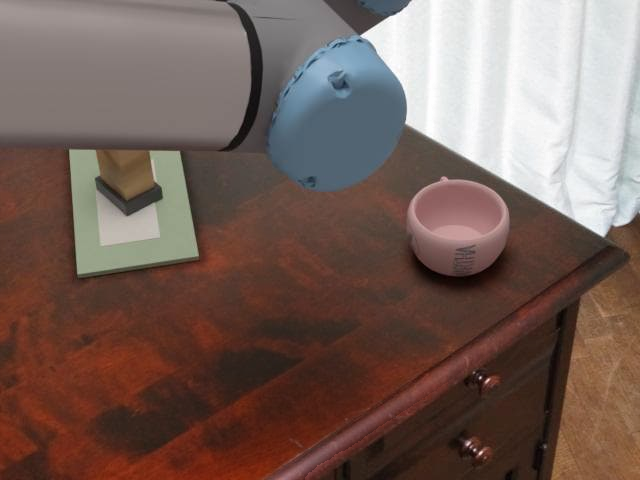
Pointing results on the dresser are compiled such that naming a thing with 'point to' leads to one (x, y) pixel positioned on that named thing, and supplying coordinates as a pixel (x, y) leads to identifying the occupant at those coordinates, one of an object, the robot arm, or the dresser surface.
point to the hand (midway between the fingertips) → (187, 102)
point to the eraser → (127, 179)
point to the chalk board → (130, 220)
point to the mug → (457, 226)
